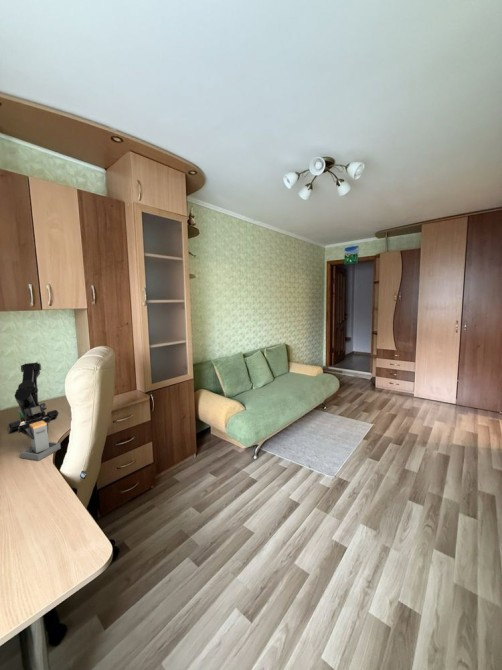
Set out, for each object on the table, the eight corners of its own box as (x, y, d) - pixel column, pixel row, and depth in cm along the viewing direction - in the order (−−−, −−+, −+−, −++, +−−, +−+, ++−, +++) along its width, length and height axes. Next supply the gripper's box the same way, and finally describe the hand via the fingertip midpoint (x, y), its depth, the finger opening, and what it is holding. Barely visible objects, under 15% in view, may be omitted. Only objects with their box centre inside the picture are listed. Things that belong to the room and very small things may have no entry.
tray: (20, 458, 122) (20, 452, 122) (43, 446, 133) (42, 440, 132) (38, 461, 120) (38, 455, 120) (60, 448, 130) (60, 443, 130)
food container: (27, 426, 155) (25, 409, 154) (19, 425, 156) (17, 409, 155) (47, 417, 167) (45, 402, 166) (39, 416, 168) (37, 401, 167)
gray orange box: (32, 449, 125) (29, 424, 124) (45, 445, 129) (42, 420, 128) (37, 453, 122) (33, 427, 121) (49, 448, 126) (47, 423, 125)
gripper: (5, 406, 118) (17, 436, 113) (55, 393, 133) (67, 420, 128) (2, 419, 123) (13, 448, 118) (50, 405, 138) (61, 431, 134)
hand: (40, 436), depth 124 cm, fingers closed on gray orange box, 5 cm apart
